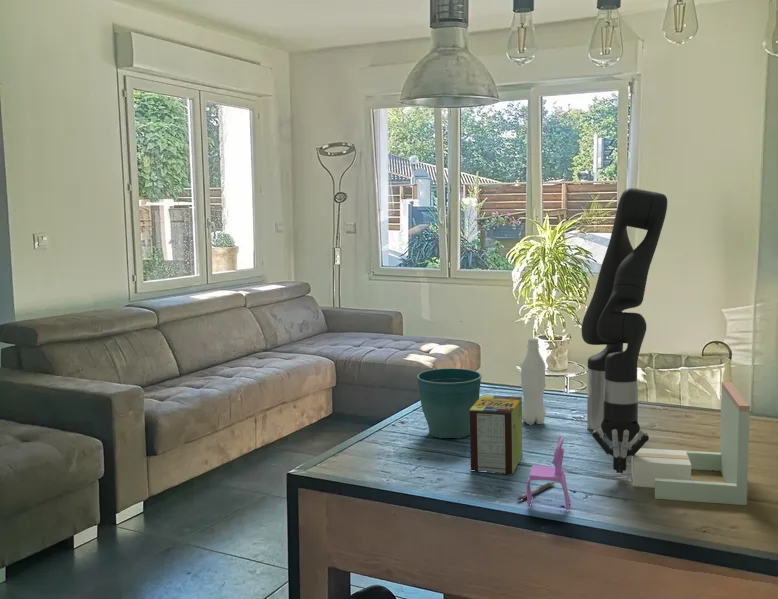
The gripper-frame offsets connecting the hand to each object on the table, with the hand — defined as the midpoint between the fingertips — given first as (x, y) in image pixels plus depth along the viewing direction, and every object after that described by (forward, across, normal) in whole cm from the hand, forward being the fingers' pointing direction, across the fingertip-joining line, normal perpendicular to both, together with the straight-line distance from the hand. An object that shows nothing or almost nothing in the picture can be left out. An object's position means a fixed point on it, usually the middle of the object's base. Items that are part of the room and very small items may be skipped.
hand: (619, 471), depth 170 cm
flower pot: (+2, -45, +27) cm, 53 cm away
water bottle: (+2, -24, +42) cm, 48 cm away
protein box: (+2, -29, +5) cm, 30 cm away
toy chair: (+2, -15, -19) cm, 24 cm away
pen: (+2, -18, -13) cm, 22 cm away
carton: (+2, +9, +1) cm, 9 cm away
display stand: (+2, +16, 0) cm, 16 cm away
